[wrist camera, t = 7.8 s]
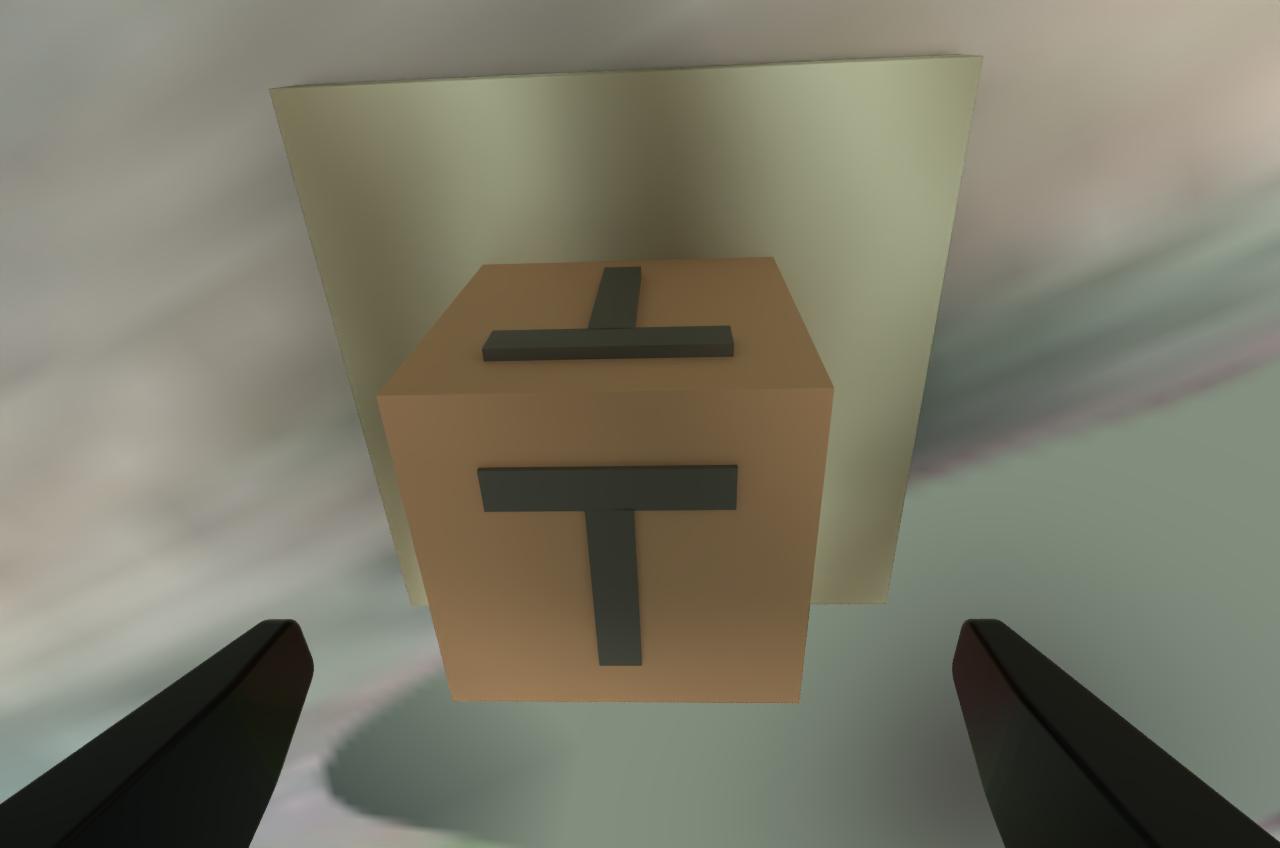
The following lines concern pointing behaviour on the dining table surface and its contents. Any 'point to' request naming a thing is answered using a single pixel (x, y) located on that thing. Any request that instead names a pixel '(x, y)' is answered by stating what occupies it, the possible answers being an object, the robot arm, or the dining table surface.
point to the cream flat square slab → (657, 228)
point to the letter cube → (616, 481)
